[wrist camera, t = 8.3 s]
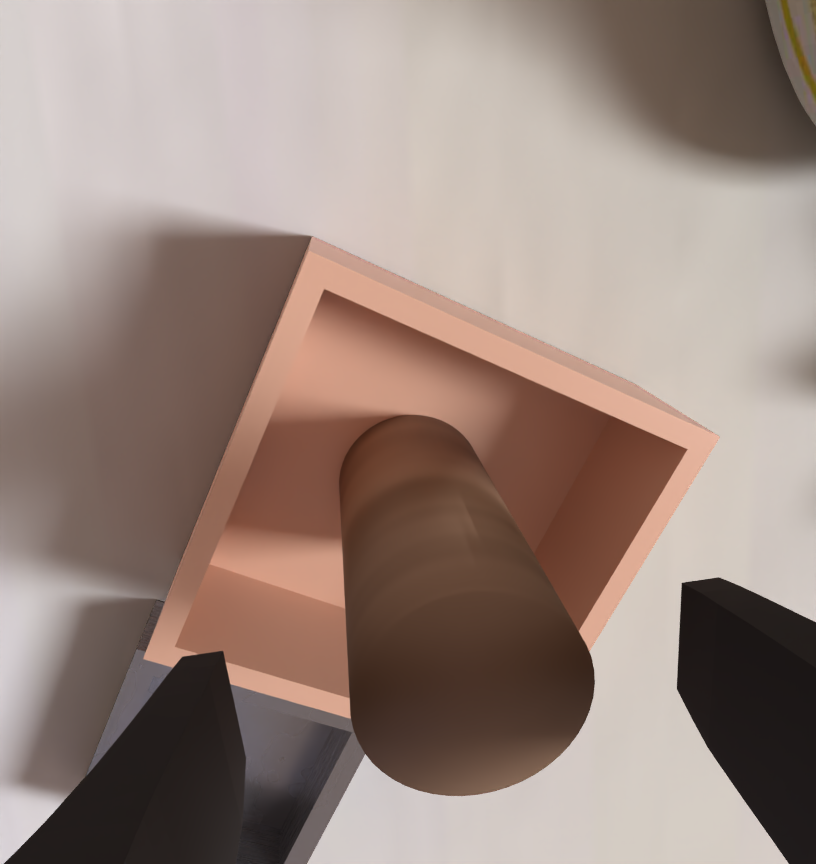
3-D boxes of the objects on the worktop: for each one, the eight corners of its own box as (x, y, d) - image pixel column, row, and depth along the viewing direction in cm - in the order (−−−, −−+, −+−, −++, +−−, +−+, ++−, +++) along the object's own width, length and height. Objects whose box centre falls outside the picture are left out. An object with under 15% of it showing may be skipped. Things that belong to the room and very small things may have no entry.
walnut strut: (482, 538, 18) (591, 777, 11) (345, 553, 18) (361, 811, 11) (478, 408, 17) (598, 577, 10) (332, 422, 17) (338, 607, 9)
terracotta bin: (482, 659, 20) (519, 766, 17) (180, 561, 18) (143, 659, 14) (637, 385, 18) (719, 436, 14) (311, 235, 16) (308, 250, 12)
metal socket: (293, 830, 22) (290, 894, 20) (84, 779, 20) (58, 844, 18) (376, 667, 20) (382, 720, 18) (156, 600, 18) (136, 648, 16)
